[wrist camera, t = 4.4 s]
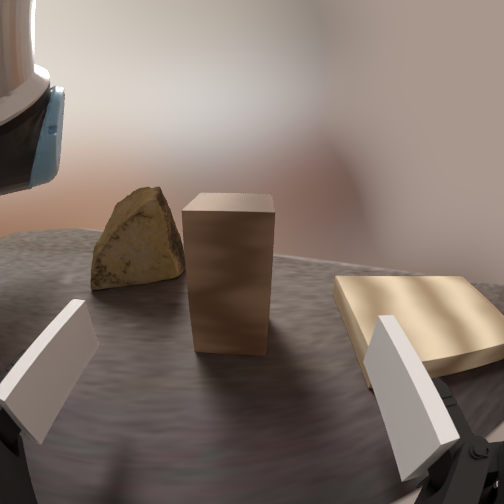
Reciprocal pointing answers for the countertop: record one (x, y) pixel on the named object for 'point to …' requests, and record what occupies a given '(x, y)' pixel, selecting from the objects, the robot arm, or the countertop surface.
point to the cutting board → (424, 319)
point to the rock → (138, 243)
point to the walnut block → (229, 271)
